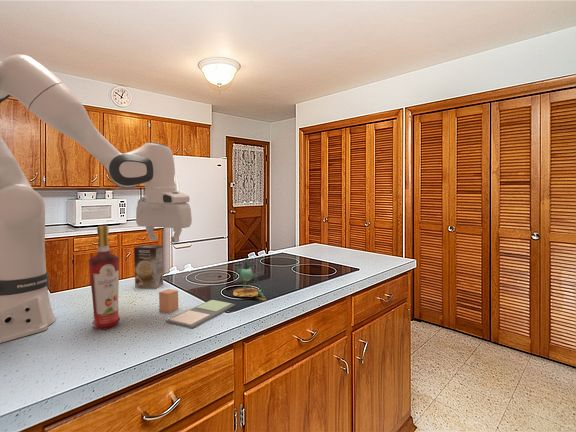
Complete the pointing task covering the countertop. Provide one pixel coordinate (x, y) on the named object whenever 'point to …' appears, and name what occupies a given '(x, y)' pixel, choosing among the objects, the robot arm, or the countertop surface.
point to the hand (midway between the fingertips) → (164, 241)
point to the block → (168, 300)
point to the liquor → (104, 283)
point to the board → (200, 314)
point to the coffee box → (148, 266)
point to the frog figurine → (247, 275)
